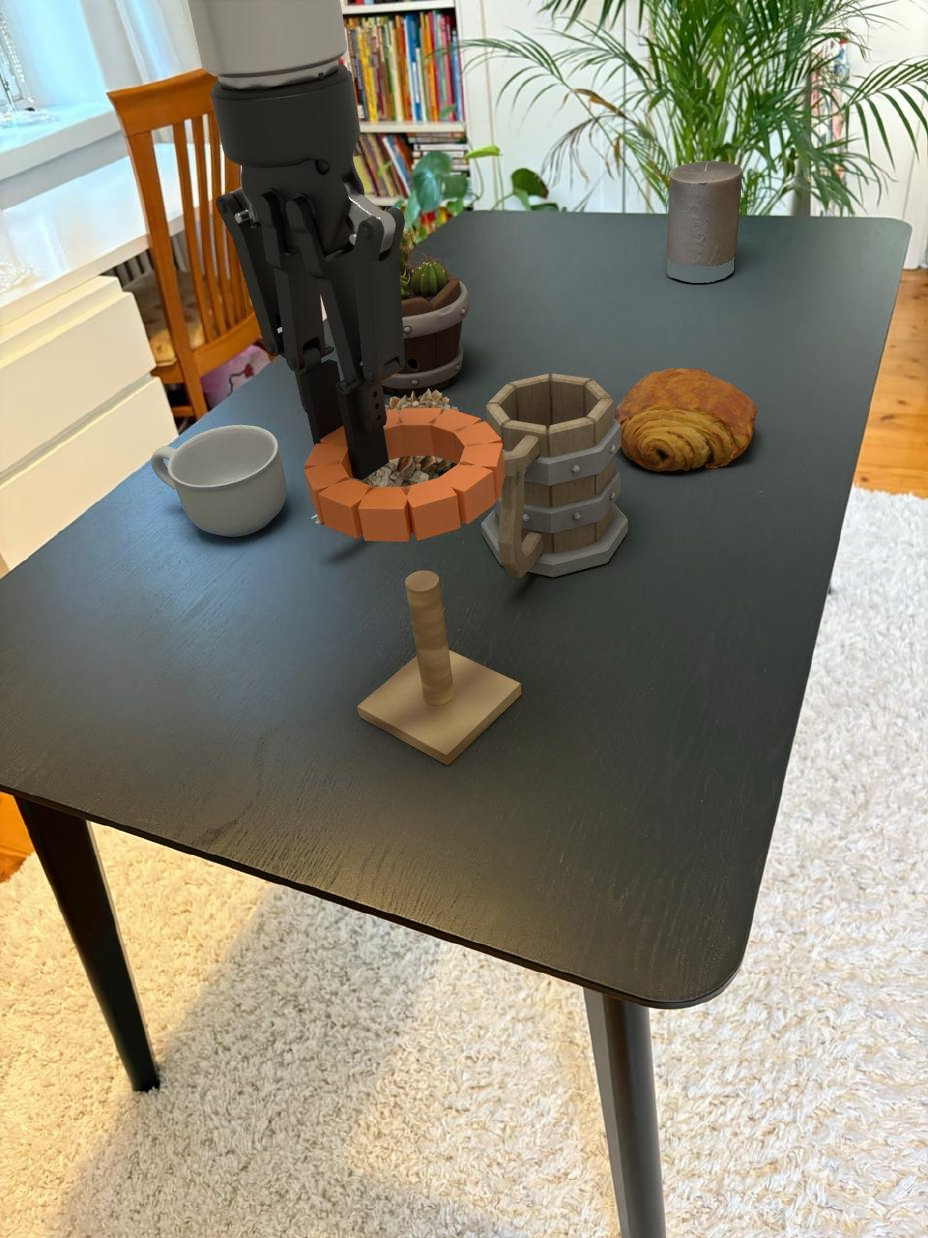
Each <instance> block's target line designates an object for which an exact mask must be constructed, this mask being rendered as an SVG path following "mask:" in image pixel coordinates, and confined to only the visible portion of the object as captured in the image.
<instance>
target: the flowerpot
mask: <svg viewBox="0 0 928 1238" xmlns="http://www.w3.org/2000/svg"><path fill="white" fill-rule="evenodd" d="M377 206H378V207H379V208H380V206H379V205H377ZM387 208H388V206H386V207H385V209H384V211H386V210H387ZM405 228H406V229H405ZM404 229H405V231H403V235H402V239H401V243H400V247H399V266H400V284H401V301H402V318H403V336H404V353H405V367H404V369H402V370H401V371H399V372H397V373H396V374H394V375H392V376H390V377H389V378H387V379H385V380H384V381H382V389H383V390H385V391H386V392H388V393H390V394H391V393H392V394H396V393H399V394H400V395H404V396H405V395H406V396H411V394H412V392H414V394H415V396H416V395H423V394H424V393H426V392H427V390H428V388H429V390H430V392H431V393H433V392H434V391H435V390H437V389H443V388H444V387H445V388H446V386H447V385H448V384H449V383H450V381H451V379H455V378H456V377H457V374H458V373H459V371H460V370H461V368H462V364H463V358H464V348H463V346H462V344H461V337H462V336H461V335H462V329H463V320H464V319H465V318H466V316H467V315H468V312H469V310H470V296H469V292H468V288H467V287H466V286H465V284H464V283H463V282H462V281H460V279H459V278H458V277H453V275H452V273H451V272H450V271H449V270H448V265H446V267H443V266H442V265H441V264H440V261H439V257H437V258H435V259H434V258H432V257H431V256H430V255H431V253H429V254H428V255H426V254H425V253H424V252H423V251H421V253H422V256H423V257H424V258H423V259H421V258H420V260H417V261H409V260H410V259H412V258H413V259H414V257H415V254H414V253H417V252H418V251H412V249H413V245H412V244H411V243H410V242H411V240H413V239H415V238H414V237H413V235H412V234H409V231H408V230H407V227H406V225H405V226H404ZM411 237H412V238H411ZM409 241H410V242H409ZM409 247H410V248H409ZM440 260H443V259H442V258H441V257H440ZM410 263H411V264H410ZM417 263H418V265H417ZM421 263H422V264H421ZM414 264H415V265H414Z"/></svg>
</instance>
